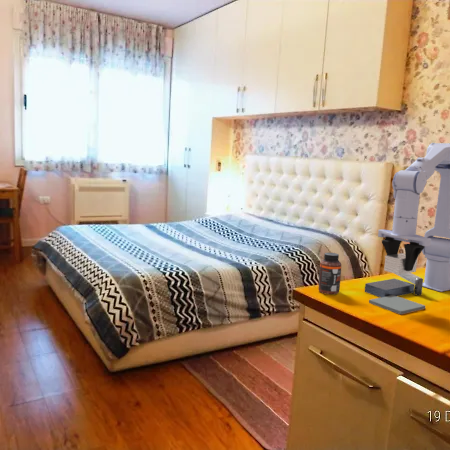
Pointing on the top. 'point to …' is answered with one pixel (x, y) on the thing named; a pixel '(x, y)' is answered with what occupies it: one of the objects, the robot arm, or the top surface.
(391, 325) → the top surface
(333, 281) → the supplement bottle
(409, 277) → the steel lever
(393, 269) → the grey rectangular block
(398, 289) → the grey piece
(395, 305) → the rubber mat
